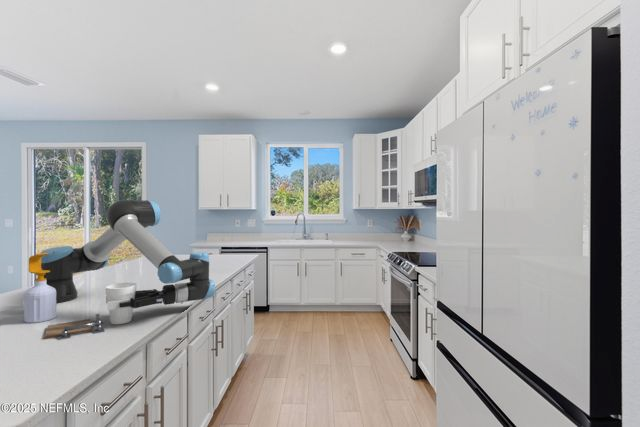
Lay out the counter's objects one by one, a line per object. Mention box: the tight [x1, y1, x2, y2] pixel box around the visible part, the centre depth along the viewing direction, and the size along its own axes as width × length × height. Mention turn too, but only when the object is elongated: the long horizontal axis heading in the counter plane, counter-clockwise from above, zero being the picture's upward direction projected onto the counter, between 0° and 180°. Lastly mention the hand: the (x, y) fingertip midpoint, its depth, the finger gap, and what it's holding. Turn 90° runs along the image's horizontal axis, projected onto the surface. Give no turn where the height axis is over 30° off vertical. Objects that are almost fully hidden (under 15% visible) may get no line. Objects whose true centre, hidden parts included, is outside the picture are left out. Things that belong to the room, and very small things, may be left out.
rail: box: [57, 313, 105, 341], centre depth 110 cm, size 13×12×3 cm
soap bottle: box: [23, 252, 57, 324], centre depth 119 cm, size 9×9×25 cm
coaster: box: [44, 318, 92, 340], centre depth 109 cm, size 12×12×1 cm
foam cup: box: [105, 282, 137, 325], centre depth 117 cm, size 10×9×13 cm
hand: (106, 302), depth 115 cm, fingers closed on foam cup, 9 cm apart
